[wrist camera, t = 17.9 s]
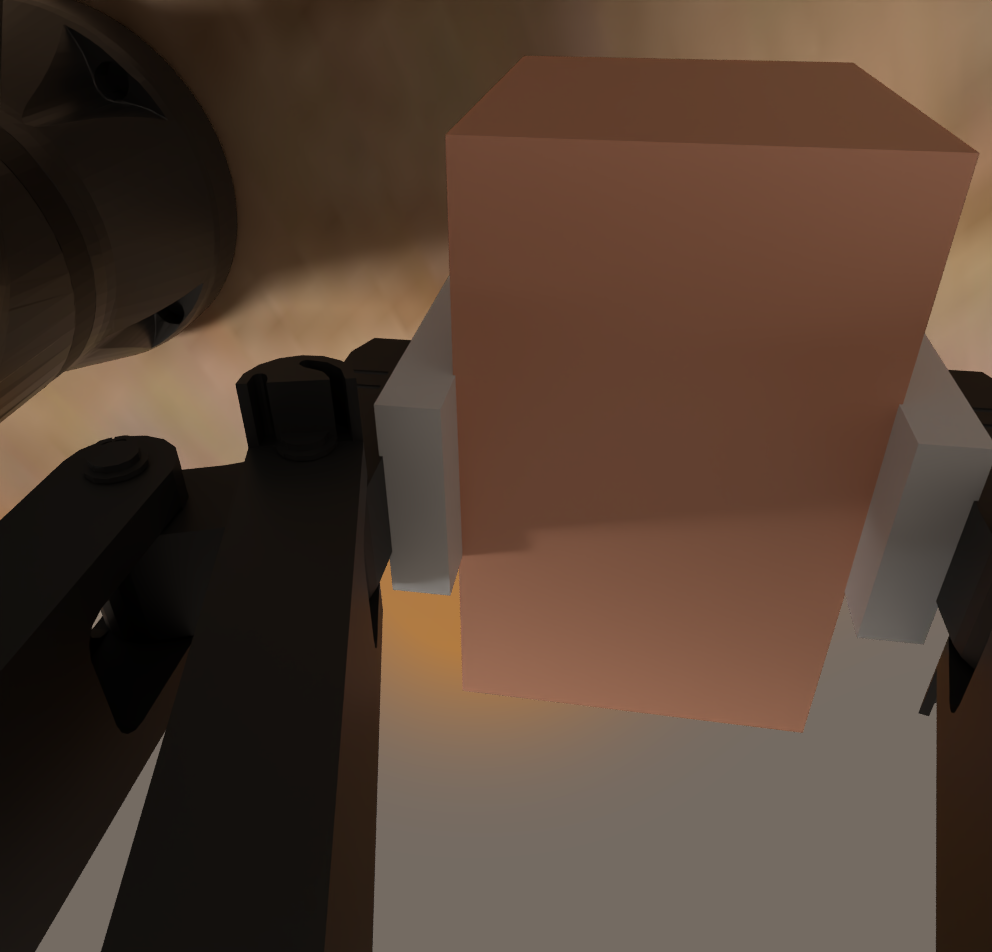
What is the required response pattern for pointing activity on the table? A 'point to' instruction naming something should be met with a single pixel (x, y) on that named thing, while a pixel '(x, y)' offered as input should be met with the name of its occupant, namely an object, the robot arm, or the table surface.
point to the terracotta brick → (681, 368)
